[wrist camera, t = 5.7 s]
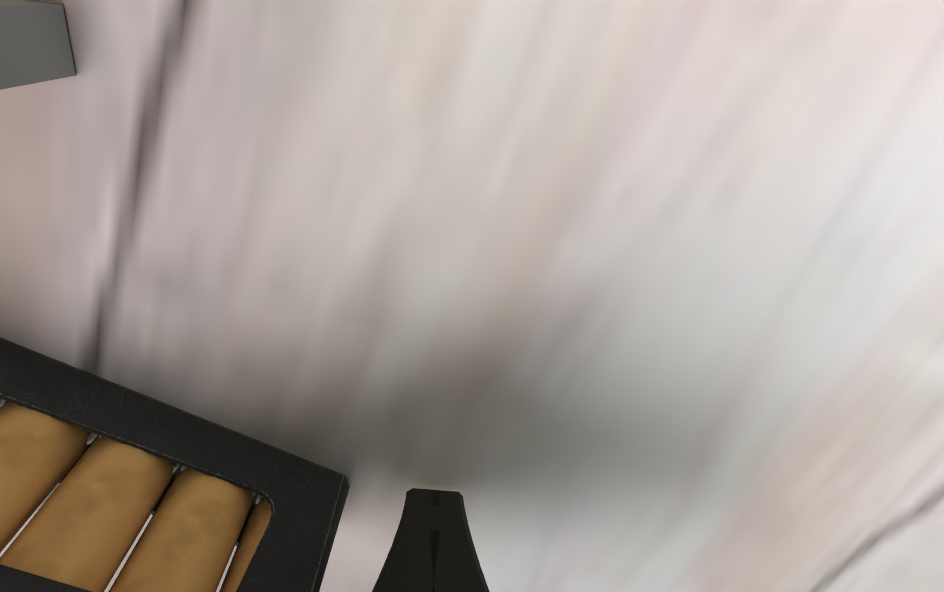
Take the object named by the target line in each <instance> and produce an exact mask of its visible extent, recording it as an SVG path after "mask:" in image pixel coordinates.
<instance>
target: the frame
mask: <svg viewBox="0 0 944 592" xmlns="http://www.w3.org/2000/svg"><path fill="white" fill-rule="evenodd" d="M75 75H76V74H75V68H74V63H73V58H72V52H71V47H70V42H69V36H68V31H67V26H66V20H65V15H64V10H63V5H59V4H52V3H45V2H38V1H31V0H0V89H6V88H11V87H16V86H22V85H27V84H32V83H38V82H43V81H48V80H54V79H59V78H64V77H70V76H75Z"/></svg>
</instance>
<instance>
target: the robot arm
mask: <svg viewBox="0 0 944 592" xmlns="http://www.w3.org/2000/svg"><path fill="white" fill-rule="evenodd" d="M372 592H489V589H488V586H487V583H486V581H485V578H484V575H483V572H482V569H481V567H480V563H479V560H478V557H477V554H476V551H475V547H474V544H473V540H472V537H471V533H470V530H469V526H468V522H467V517H466V512H465V507H464V502H463V496H462V495H461V494H460V493H459V492H454V491H441V490H429V489H416V488H412V489H411V490H409V491H407V494H406V500H405V505H404V509H403V513H402V517H401V520H400V524H399V527H398V530H397V533H396V535H395V538H394V541H393V544H392V546H391V549H390V551H389V554H388V556H387V559H386V561H385V563H384V566H383V568H382V570H381V573H380V575H379V578H378V580H377V582H376V584H375V586H374V589H373V591H372Z"/></svg>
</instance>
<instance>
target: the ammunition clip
mask: <svg viewBox="0 0 944 592" xmlns="http://www.w3.org/2000/svg"><path fill="white" fill-rule="evenodd" d="M58 483H60V484H59V485H58V487H57V488H56V489H55V490H54V492H53V493H52V494H51V495H50V497H49V498H48V499H47V500H46V502H45V503H44V504H43V505H42V507H41V508H40V509H39V510H38V512H37V513H36V514H35V515H34V516H33V518H32V519H31V520H30V521H29V523H28V524H27V525H26V526H25V528H24V529H23V530H22V531H21V533H20V534H19V535H18V536H17V538H16V539H15V540H14V541H13V543H12V544H11V545H10V546H9V548H8V549H7V550H6V551H5V552H4V554H3V555H2V556H1V557H0V592H104V590H105V589H106V587H107V585H108V584H109V582H110V580H111V579H112V577H113V576H114V574H115V572H116V571H117V569H118V567H119V566H120V564H121V562H122V561H123V559H124V557H125V556H126V554H127V552H128V551H129V549H130V547H131V546H132V544H133V542H134V541H135V539H136V537H137V536H138V534H139V532H140V531H141V529H142V527H143V526H144V524H145V522H146V521H147V519H148V518H149V516H150V514H152V515H153V516H152V518H151V520H150V522H149V523H148V525H147V527H146V528H145V530H144V532H143V534H142V535H141V537H140V539H139V540H138V542H137V544H136V546H135V547H134V549H133V551H132V553H131V554H130V556H129V558H128V559H127V561H126V563H125V565H124V566H123V568H122V570H121V571H120V573H119V575H118V577H117V578H116V580H115V582H114V584H113V585H112V587H111V589H110V590H109V592H216V590H217V587H218V585H219V582H220V580H221V578H222V575H223V573H224V570H225V568H226V566H227V563H228V561H229V558H230V556H231V554H232V551H233V549H234V546H235V545H236V546H237V549H236V551H235V554H234V556H233V559H232V561H231V564H230V566H229V569H228V571H227V574H226V576H225V579H224V581H223V584H222V586H221V589H220V591H219V592H319V590H320V586H321V583H322V579H323V576H324V573H325V569H326V566H327V562H328V559H329V556H330V552H331V549H332V545H333V542H334V538H335V535H336V532H337V528H338V525H339V521H340V518H341V515H342V511H343V508H344V504H345V501H346V498H347V494H348V491H349V487H350V485H349V483H348V482H347V480H346V478H345V476H344V475H342V474H340V473H337V472H335V471H332V470H330V469H327V468H325V467H322V466H320V465H317V464H315V463H312V462H310V461H307V460H305V459H302V458H300V457H297V456H295V455H292V454H290V453H287V452H284V451H282V450H279V449H277V448H274V447H272V446H269V445H267V444H264V443H262V442H259V441H257V440H254V439H252V438H249V437H247V436H244V435H242V434H239V433H237V432H234V431H232V430H229V429H227V428H224V427H222V426H219V425H216V424H214V423H211V422H209V421H206V420H204V419H201V418H199V417H196V416H194V415H191V414H189V413H186V412H184V411H181V410H179V409H176V408H174V407H171V406H169V405H166V404H164V403H161V402H159V401H156V400H153V399H151V398H148V397H146V396H143V395H141V394H138V393H136V392H133V391H131V390H128V389H126V388H123V387H121V386H118V385H116V384H113V383H111V382H108V381H106V380H103V379H101V378H98V377H96V376H93V375H90V374H88V373H85V372H83V371H80V370H78V369H75V368H73V367H70V366H68V365H65V364H63V363H60V362H58V361H55V360H53V359H50V358H48V357H45V356H43V355H40V354H38V353H35V352H33V351H30V350H28V349H25V348H22V347H20V346H17V345H15V344H12V343H10V342H7V341H5V340H2V339H0V552H1V551H2V550H3V549H4V548H5V546H6V545H7V544H8V543H9V542H10V540H11V539H12V538H13V537H14V536H15V534H16V533H17V532H18V531H19V530H20V528H21V527H22V526H23V525H24V524H25V522H26V521H27V520H28V519H29V518H30V516H31V515H32V514H33V513H34V512H35V510H36V509H37V508H38V507H39V505H40V504H41V503H42V502H43V501H44V499H45V498H46V497H47V496H48V495H49V493H50V492H51V491H52V490H53V489H54V487H55V486H56V485H57V484H58Z"/></svg>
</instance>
